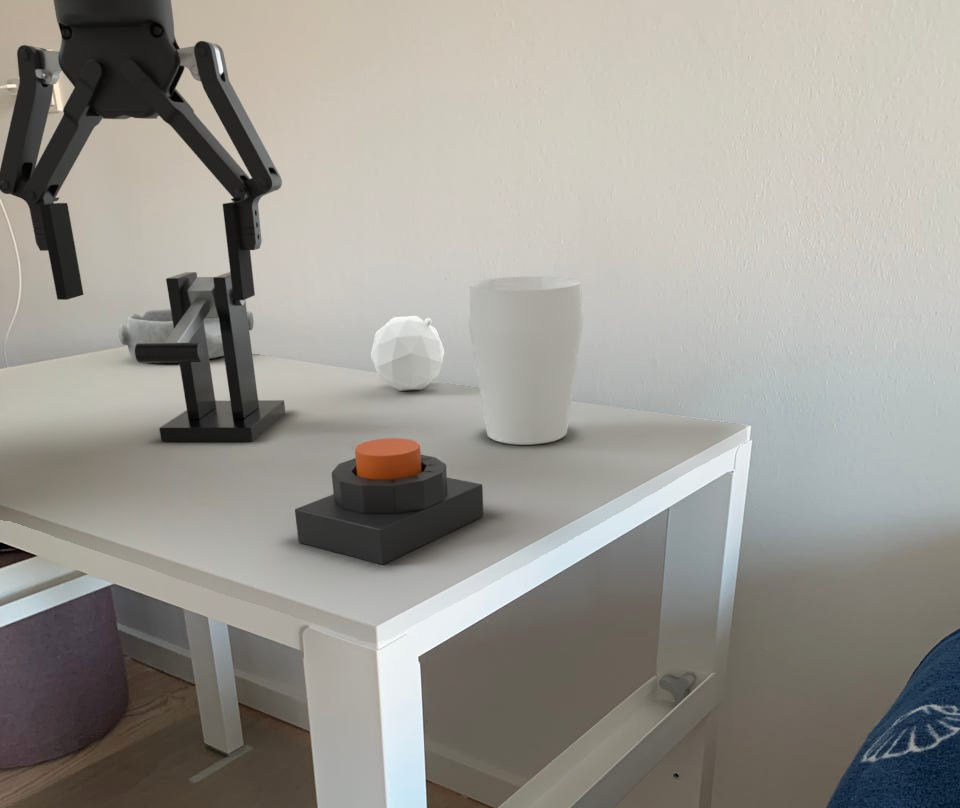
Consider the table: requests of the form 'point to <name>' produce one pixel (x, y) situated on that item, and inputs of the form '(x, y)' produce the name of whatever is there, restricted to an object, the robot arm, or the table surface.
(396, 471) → the button
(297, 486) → the table surface
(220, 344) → the dish
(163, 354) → the switch
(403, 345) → the ornament
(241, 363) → the switch bracket
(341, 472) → the block
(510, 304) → the cup
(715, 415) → the table surface
